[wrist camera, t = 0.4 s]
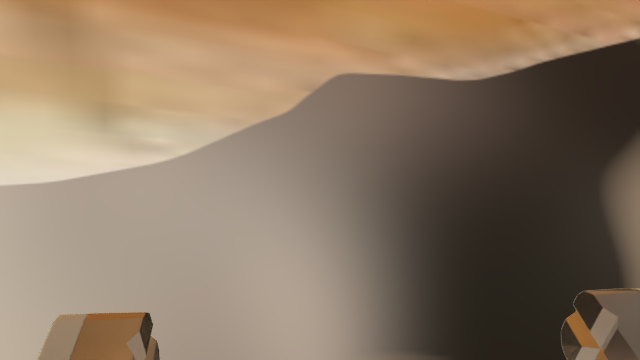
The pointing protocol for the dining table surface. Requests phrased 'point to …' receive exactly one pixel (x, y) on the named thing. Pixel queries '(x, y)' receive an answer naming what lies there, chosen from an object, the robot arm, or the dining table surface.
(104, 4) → the dining table surface
